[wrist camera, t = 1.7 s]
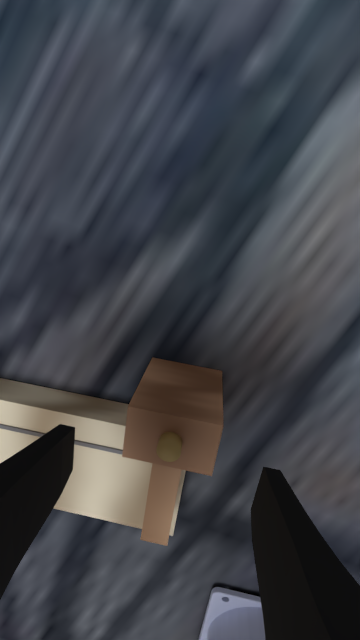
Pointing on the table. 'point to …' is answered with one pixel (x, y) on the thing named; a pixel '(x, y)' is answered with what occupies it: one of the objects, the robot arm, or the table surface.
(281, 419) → the table surface
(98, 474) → the board
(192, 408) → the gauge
